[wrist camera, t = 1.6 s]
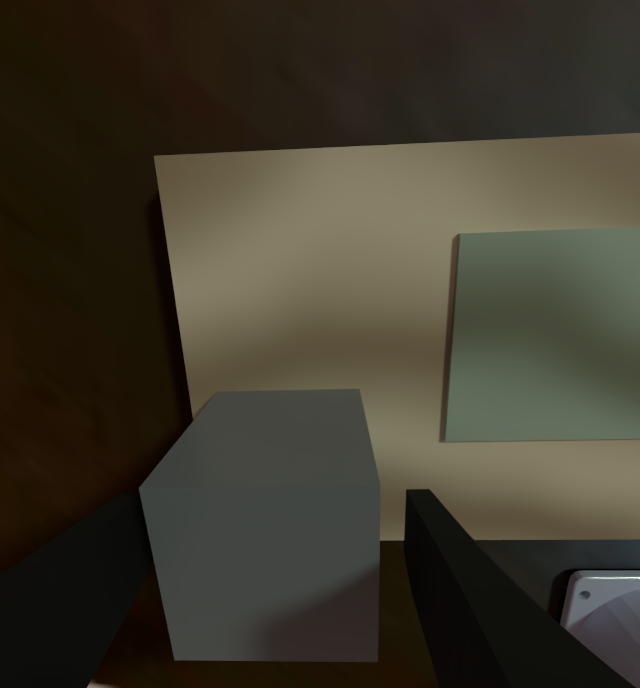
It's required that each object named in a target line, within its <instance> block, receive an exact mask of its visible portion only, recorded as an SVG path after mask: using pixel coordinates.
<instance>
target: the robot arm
mask: <svg viewBox="0 0 640 688" xmlns="http://www.w3.org/2000/svg"><path fill="white" fill-rule="evenodd" d="M404 554H405V560H406V565H407V570H408V576H409V581H410V586H411V591H412V595H413V598H414V602H415V605H416V609H417V612H418V616H419V619H420V623H421V626H422V629H423V633H424V636H425V639H426V643H427V646H428V650H429V653H430V656H431V660H432V663H433V666H434V670H435V673H436V677H437V680H438V683H439V687H440V688H640V570H581V571H576V572H574V573H573V574H572V575H571V576H570V578H569V583H568V587H567V592H566V597H565V602H564V607H563V612H562V616H561V621H560V624H559V623H558V622H557V621H556V620H554V619H553V618H552V617H551V616H550V615H549V614H548V613H547V612H546V611H545V610H543V609H542V608H541V607H540V606H539V605H538V604H537V603H536V602H535V601H534V600H533V599H532V598H531V597H530V596H529V595H528V594H527V593H525V592H524V591H523V590H522V589H521V588H520V587H519V586H518V585H517V584H516V583H515V582H514V581H513V580H512V579H511V578H510V577H509V576H508V575H507V574H506V573H505V572H504V571H503V570H502V569H501V568H500V567H499V566H498V565H497V564H496V563H495V562H494V561H493V559H492V558H491V557H490V556H489V555H488V554H487V553H486V552H485V551H484V550H483V549H482V548H481V547H480V546H479V545H478V544H477V542H476V541H475V540H474V539H473V538H472V537H471V536H470V535H469V534H468V533H467V532H466V530H465V529H464V528H463V527H462V526H461V525H460V524H459V523H458V521H457V520H456V519H455V518H454V517H453V516H452V515H451V513H450V512H449V511H448V510H447V509H446V508H445V506H444V505H443V504H442V503H441V502H440V500H439V499H438V498H437V497H436V496H435V495H434V493H433V492H432V491H431V490H430V489H406V507H405V532H404ZM152 560H153V554H152V549H151V544H150V540H149V535H148V530H147V525H146V520H145V516H144V511H143V506H142V501H141V496H140V493H121V494H119V495H118V496H116V497H114V498H113V499H111V500H110V501H108V502H107V503H105V504H104V505H102V506H101V507H99V508H98V509H96V510H95V511H93V512H92V513H90V514H89V515H87V516H86V517H85V518H83V519H82V520H80V521H79V522H77V523H76V524H74V525H73V526H72V527H70V528H69V529H67V530H66V531H64V532H63V533H61V534H60V535H58V536H57V537H56V538H54V539H53V540H51V541H50V542H48V543H47V544H45V545H44V546H42V547H41V548H40V549H38V550H37V551H35V552H34V553H32V554H31V555H29V556H28V557H26V558H25V559H23V560H22V561H20V562H19V563H17V564H16V565H14V566H12V567H11V568H9V569H8V570H6V571H5V572H3V573H2V574H0V688H87V686H88V685H89V683H90V681H91V679H92V677H93V676H94V674H95V672H96V670H97V668H98V667H99V665H100V663H101V661H102V659H103V658H104V656H105V654H106V652H107V650H108V649H109V647H110V645H111V643H112V641H113V640H114V638H115V636H116V634H117V632H118V630H119V629H120V627H121V625H122V623H123V621H124V619H125V618H126V616H127V614H128V612H129V610H130V608H131V607H132V605H133V603H134V601H135V599H136V597H137V595H138V593H139V591H140V589H141V586H142V584H143V582H144V579H145V577H146V575H147V572H148V570H149V567H150V565H151V562H152Z"/></svg>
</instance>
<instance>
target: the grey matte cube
mask: <svg viewBox="0 0 640 688" xmlns="http://www.w3.org/2000/svg"><path fill="white" fill-rule="evenodd" d="M139 492H140V496H141V501H142V506H143V511H144V516H145V520H146V525H147V530H148V535H149V540H150V544H151V549H152V554H153V559H154V564H155V568H156V573H157V578H158V583H159V588H160V592H161V597H162V602H163V607H164V612H165V616H166V621H167V626H168V631H169V636H170V640H171V645H172V650H173V655H174V660H215V661H325V662H378V620H379V556H380V492H381V485H380V481H379V476H378V472H377V467H376V462H375V458H374V453H373V448H372V444H371V439H370V435H369V430H368V425H367V421H366V416H365V412H364V407H363V402H362V398H361V393H360V389H319V390H271V391H222V392H216V393H215V395H214V396H213V397H212V398H211V400H210V401H209V402H208V403H207V405H206V406H205V407H204V408H203V410H202V411H201V412H200V413H199V414H198V416H197V417H196V418H195V419H194V421H193V422H192V423H191V424H190V426H189V427H188V428H187V429H186V431H185V432H184V433H183V434H182V435H181V437H180V438H179V439H178V440H177V442H176V443H175V444H174V445H173V447H172V448H171V449H170V450H169V452H168V453H167V454H166V455H165V456H164V458H163V459H162V460H161V461H160V463H159V464H158V465H157V466H156V468H155V469H154V470H153V471H152V473H151V474H150V475H149V476H148V477H147V479H146V480H145V481H144V482H143V484H142V485H141V486H140V487H139Z"/></svg>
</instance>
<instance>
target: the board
mask: <svg viewBox="0 0 640 688" xmlns="http://www.w3.org/2000/svg"><path fill="white" fill-rule="evenodd" d="M154 160H155V166H156V173H157V180H158V187H159V193H160V200H161V207H162V213H163V220H164V227H165V234H166V240H167V247H168V254H169V261H170V267H171V274H172V281H173V288H174V294H175V301H176V308H177V314H178V321H179V328H180V335H181V341H182V348H183V355H184V362H185V368H186V375H187V382H188V388H189V395H190V402H191V409H192V415H193V421H194V419H195V418H196V417H197V416H198V414H199V413H200V412H201V411H202V410H203V408H204V407H205V406H206V405H207V403H208V402H209V401H210V400H211V398H212V397H213V396H214V395H215V393H216V392H222V391H271V390H319V389H360V393H361V398H362V402H363V407H364V412H365V416H366V421H367V425H368V430H369V435H370V439H371V444H372V448H373V453H374V458H375V462H376V467H377V472H378V476H379V481H380V485H381V492H380V540H404V532H405V507H406V489H430V490H431V491H432V492H433V493H434V495H435V496H436V497H437V498H438V499H439V500H440V502H441V503H442V504H443V505H444V506H445V508H446V509H447V510H448V511H449V512H450V513H451V515H452V516H453V517H454V518H455V519H456V520H457V521H458V523H459V524H460V525H461V526H462V527H463V528H464V529H465V530H466V532H467V533H468V534H469V535H470V536H471V537H472V538H473V539H474V540H585V539H640V133H631V134H610V135H589V136H567V137H546V138H525V139H504V140H483V141H461V142H440V143H419V144H398V145H376V146H355V147H334V148H313V149H292V150H270V151H249V152H228V153H207V154H185V155H164V156H154Z"/></svg>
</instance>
